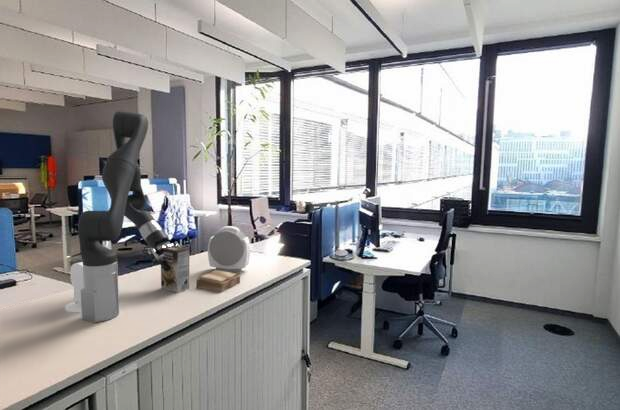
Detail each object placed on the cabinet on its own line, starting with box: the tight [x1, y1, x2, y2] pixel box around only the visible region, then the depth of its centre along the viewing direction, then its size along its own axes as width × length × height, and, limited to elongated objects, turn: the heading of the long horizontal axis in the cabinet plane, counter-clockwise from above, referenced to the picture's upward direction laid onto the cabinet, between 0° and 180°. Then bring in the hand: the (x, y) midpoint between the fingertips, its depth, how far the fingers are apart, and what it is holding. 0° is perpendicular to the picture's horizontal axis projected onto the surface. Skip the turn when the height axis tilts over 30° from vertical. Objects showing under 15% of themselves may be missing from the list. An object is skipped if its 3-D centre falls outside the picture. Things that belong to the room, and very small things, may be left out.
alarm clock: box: [207, 225, 251, 274], centre depth 162 cm, size 18×8×20 cm, turn 84°
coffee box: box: [160, 245, 190, 294], centre depth 137 cm, size 9×6×16 cm
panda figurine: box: [64, 258, 84, 314], centre depth 119 cm, size 12×11×15 cm
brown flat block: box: [196, 269, 241, 293], centre depth 143 cm, size 12×12×4 cm
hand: (177, 267), depth 137 cm, fingers open, 8 cm apart
